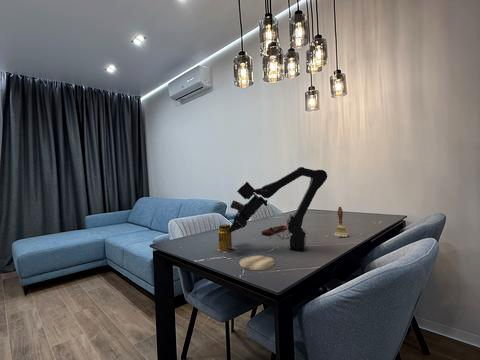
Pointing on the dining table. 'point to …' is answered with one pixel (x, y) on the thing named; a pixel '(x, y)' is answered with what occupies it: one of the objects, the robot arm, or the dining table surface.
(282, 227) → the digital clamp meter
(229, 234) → the condiment
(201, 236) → the dining table surface
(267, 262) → the beige round plate
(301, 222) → the robot arm
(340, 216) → the hand bell
